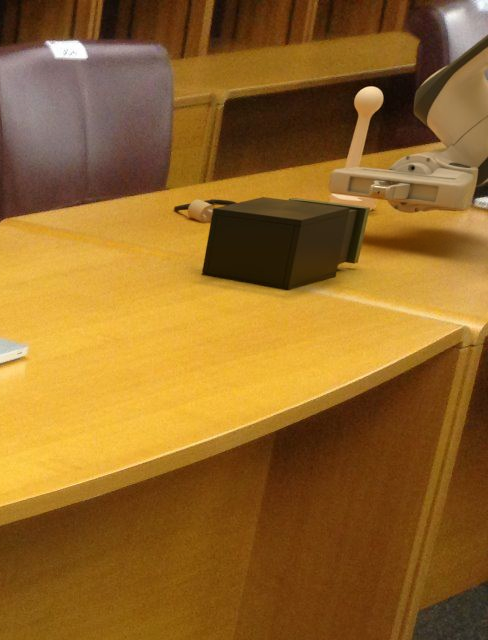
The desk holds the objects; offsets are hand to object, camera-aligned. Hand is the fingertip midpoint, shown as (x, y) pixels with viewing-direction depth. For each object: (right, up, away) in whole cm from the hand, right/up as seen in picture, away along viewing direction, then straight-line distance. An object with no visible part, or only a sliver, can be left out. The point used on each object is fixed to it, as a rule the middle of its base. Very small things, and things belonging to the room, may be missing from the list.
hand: (378, 192), depth 232 cm
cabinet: (-24, -17, -15) cm, 33 cm away
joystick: (+14, +9, +36) cm, 40 cm away
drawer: (-16, -13, -9) cm, 22 cm away
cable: (-13, +5, +28) cm, 32 cm away
